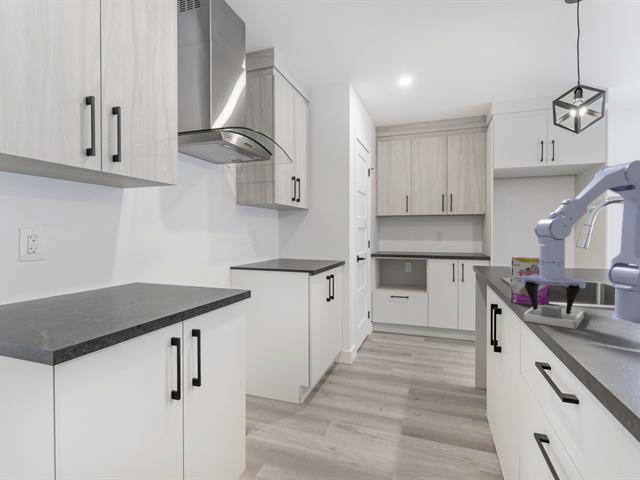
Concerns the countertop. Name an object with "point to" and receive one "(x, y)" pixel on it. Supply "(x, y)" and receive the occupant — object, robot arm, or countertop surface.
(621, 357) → the countertop surface
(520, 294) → the candy bar box
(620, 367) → the countertop surface
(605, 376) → the countertop surface
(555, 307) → the slate block
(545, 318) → the two-bin tray
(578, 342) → the countertop surface
